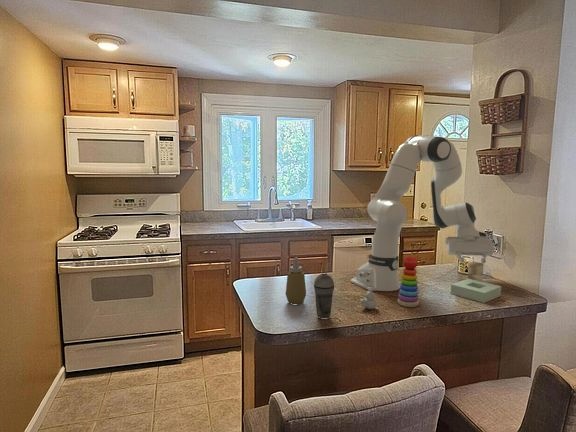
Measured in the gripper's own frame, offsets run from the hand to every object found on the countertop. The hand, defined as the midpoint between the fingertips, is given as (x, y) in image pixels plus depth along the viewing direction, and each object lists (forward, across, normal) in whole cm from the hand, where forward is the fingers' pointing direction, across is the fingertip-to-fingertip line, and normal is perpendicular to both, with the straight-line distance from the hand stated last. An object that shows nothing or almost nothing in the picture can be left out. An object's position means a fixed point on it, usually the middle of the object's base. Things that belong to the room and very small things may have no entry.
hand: (473, 262), depth 179 cm
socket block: (+20, -4, -6) cm, 21 cm away
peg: (+10, 0, +4) cm, 10 cm away
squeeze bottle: (+34, -77, -20) cm, 87 cm away
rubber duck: (+36, -50, -22) cm, 65 cm away
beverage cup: (+43, -66, -30) cm, 84 cm away
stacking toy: (+31, -34, -17) cm, 49 cm away
